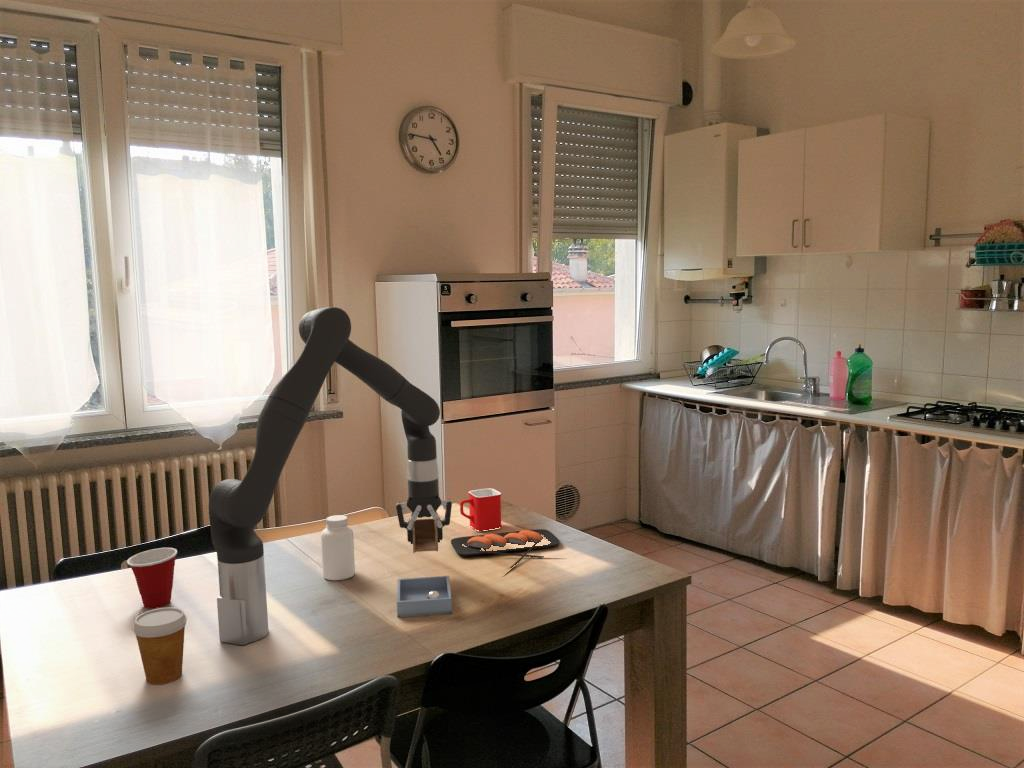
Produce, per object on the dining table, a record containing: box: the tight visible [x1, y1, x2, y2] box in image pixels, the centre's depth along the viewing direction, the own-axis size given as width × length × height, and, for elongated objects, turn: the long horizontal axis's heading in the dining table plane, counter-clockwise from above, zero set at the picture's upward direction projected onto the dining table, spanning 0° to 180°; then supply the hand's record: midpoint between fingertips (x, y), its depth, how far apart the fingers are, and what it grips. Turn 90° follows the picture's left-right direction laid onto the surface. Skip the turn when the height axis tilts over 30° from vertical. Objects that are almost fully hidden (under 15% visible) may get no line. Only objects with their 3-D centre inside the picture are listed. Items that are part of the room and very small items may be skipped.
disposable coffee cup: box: [131, 606, 188, 685], centre depth 155 cm, size 10×10×12 cm
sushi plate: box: [450, 528, 561, 568], centre depth 219 cm, size 29×30×4 cm
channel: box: [412, 518, 439, 554], centre depth 203 cm, size 9×6×6 cm, turn 7°
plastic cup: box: [126, 547, 178, 610], centre depth 190 cm, size 11×11×12 cm
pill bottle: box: [320, 514, 356, 581], centre depth 206 cm, size 8×8×15 cm
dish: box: [396, 575, 453, 618], centre depth 188 cm, size 14×12×4 cm
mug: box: [459, 487, 502, 531], centre depth 242 cm, size 12×8×11 cm
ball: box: [427, 591, 441, 599], centre depth 186 cm, size 3×3×3 cm
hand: (425, 542), depth 204 cm, fingers closed on channel, 6 cm apart
